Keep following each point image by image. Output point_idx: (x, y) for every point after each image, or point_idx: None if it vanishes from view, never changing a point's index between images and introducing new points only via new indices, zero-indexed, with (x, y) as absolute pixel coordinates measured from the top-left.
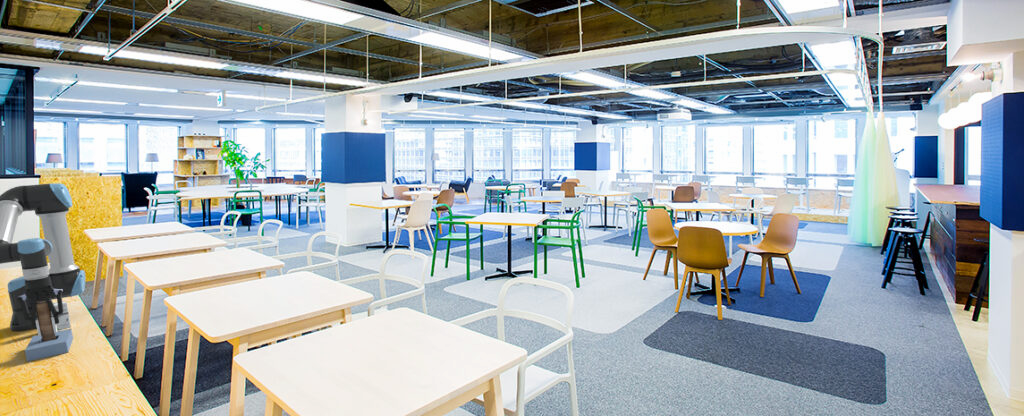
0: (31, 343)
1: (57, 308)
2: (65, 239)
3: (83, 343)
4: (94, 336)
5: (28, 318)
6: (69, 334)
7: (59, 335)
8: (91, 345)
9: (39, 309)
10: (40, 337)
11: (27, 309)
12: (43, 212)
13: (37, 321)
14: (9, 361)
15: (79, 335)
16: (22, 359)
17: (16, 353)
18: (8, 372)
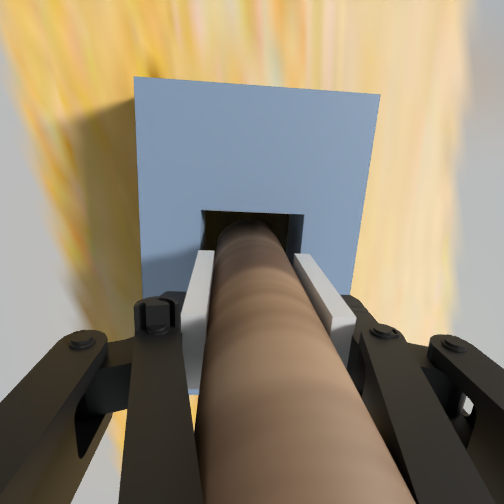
0: (158, 278)
1: None
2: None
3: (385, 262)
4: (448, 169)
5: (108, 419)
6: (356, 231)
7: (305, 229)
8: (410, 327)
9: None
10: (193, 171)
11: (35, 486)
12: None
13: (199, 379)
14: (75, 286)
15: (386, 57)
16: (132, 302)
17: (74, 156)
18: (113, 438)
